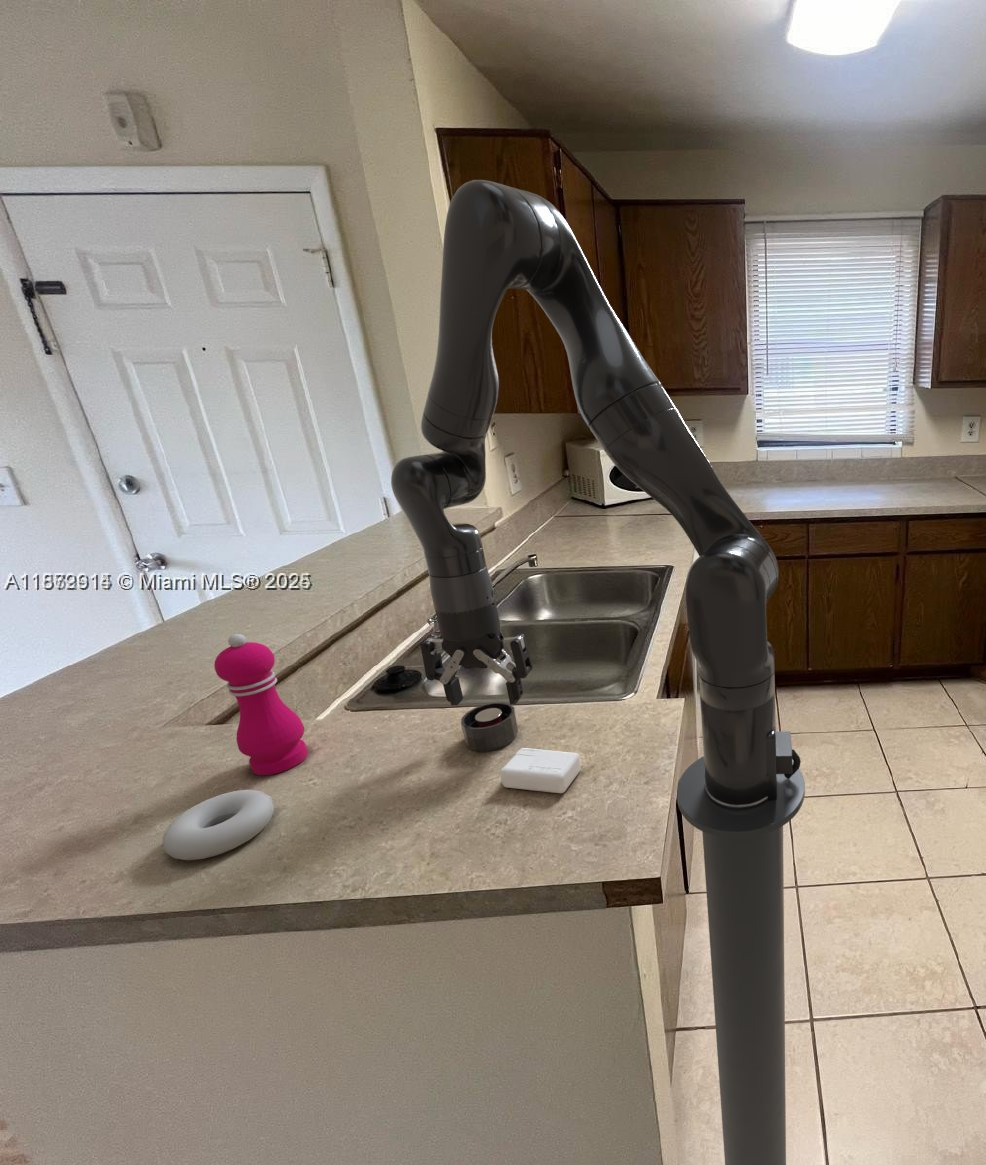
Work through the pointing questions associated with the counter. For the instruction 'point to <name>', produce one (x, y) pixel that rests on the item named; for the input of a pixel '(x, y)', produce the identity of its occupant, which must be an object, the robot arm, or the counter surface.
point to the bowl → (490, 728)
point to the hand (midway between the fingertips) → (486, 702)
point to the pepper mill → (260, 708)
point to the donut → (218, 825)
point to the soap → (541, 770)
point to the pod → (488, 717)
